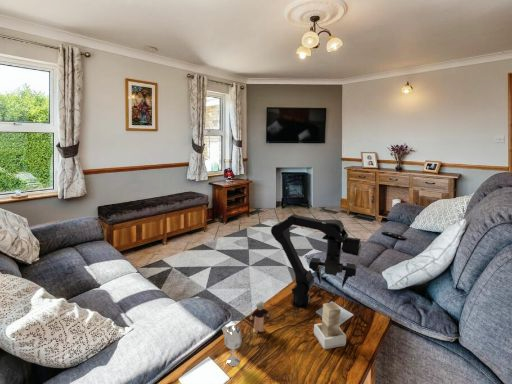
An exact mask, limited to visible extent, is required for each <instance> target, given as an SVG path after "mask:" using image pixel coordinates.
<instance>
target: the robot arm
mask: <svg viewBox="0 0 512 384" xmlns="http://www.w3.org/2000/svg"><path fill="white" fill-rule="evenodd" d="M292 226H297V227H302V228H307V229H311V230H316V231H319V232H321V233H323V234H324V235H323V237H322V240H326V254H325V256H326V257H325V260H324V261H321V258H318V257H311V258H310V261H309V263H308V268H309V270H307V269H306V268H305V267H304V264H303V262H302V260H301V259H300V256H299V254H298V252H297V250H296V248H295V246H294V244H293V242H292V240H291V232H290V228H291V227H292ZM270 233H271V235H272V237H273V238H274V240H275V241H276V242H277V243H279V244H280V245H281V248H282V249H283V251H284V254H285V256H286V258H287V259H288V263H289V264H290V266H291V269H292V270H293V272H294V276H295V277H294V279H295V285H294V286H293V288H291V291H292V294H293V298H292V304H291V305H292V306H293V307H297V308H302V309H307V308H308V306H309V305H310V293H309V292H310V290H311V288H312V287H313V285H314V284H315V276H314V275H313V273H312V271H314V272H315V274H316V277H317V279H318V283H319V284H321V283H322V267H323V268H324V274H326V275H332V276H337V274H340V273H343V271H344V274H343V279H342V283H341V288H344V286H345V284H346V283H347V280H348V279H349V278H353V277H356V274H357V265H356V264H355V263H349V262H346V264H343V263H341V255H342V253H344V254H347V255H352V256H356V257H360V255H361V251H362V242H361V238H359V237H355V238H354V237H350V236H349V233H347V231H346V229H345V226H344V223H343V221H341V220H340V219H320V218H319V219H318V218H314V217H308V216H304V215H298V214H295V213H293V214H290V215H289V216H288V217H287V218H286V219H284V220H283V221H279V222H278V223H276V224H274V225H273V226H272V227H271V229H270Z"/></svg>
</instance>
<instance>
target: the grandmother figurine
mask: <svg viewBox="0 0 512 384" xmlns="http://www.w3.org/2000/svg"><path fill="white" fill-rule="evenodd" d="M255 307H256V308H255V310H254V311H253V312H252V313H251V315H250V317H249V320H250V321H252V320H253V319H254V322H253V330H252V332H253V334H258V333H259V332H260V333H263V332H265V329H264V323H265V315H266V317H270V313H269V311H268V310H267V309H266V308H264V307H265V303H264V301H262V300H257V301H256V303H255Z"/></svg>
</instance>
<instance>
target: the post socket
mask: <svg viewBox="0 0 512 384" xmlns="http://www.w3.org/2000/svg"><path fill="white" fill-rule="evenodd" d="M321 330H322V322H321V323H314V325H313V334H314V337H315V338H316V339H317V341H318V343H319V344H320V346H321V347H322V348H323V350H327V349H328V350H329V349H333V348H338V347H339V348H340V347H344V346H346V345H347V344H346V343H347V335H346V334H345V332H344V331H343V329H341V327H340V326H339V334H338V336H333V337H327V338H326V337H325V336H324V334H323V333H322V332H321Z"/></svg>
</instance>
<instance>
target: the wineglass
mask: <svg viewBox="0 0 512 384" xmlns="http://www.w3.org/2000/svg"><path fill="white" fill-rule="evenodd" d="M242 339H243V337H242V331H241V327H239V326H238V325H233V324H232V325H229V326H227V327H226V329H225V333H224V345H225V346H226V348H227V349H228V350H229V349H230V350H231V354H232V355H231V356H229V357H228V358H227V359H226V364H227V363H228V364H229V365H231V366H230V367H232V366H234V367H236V366H239V364H240V363H241V362H240V360H241V359H240V358H239V356H236V355H235V350H236V349H239V348H240V346H241V344H242V342H243V341H242ZM228 364H227V365H228ZM229 365H228V366H229Z"/></svg>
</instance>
